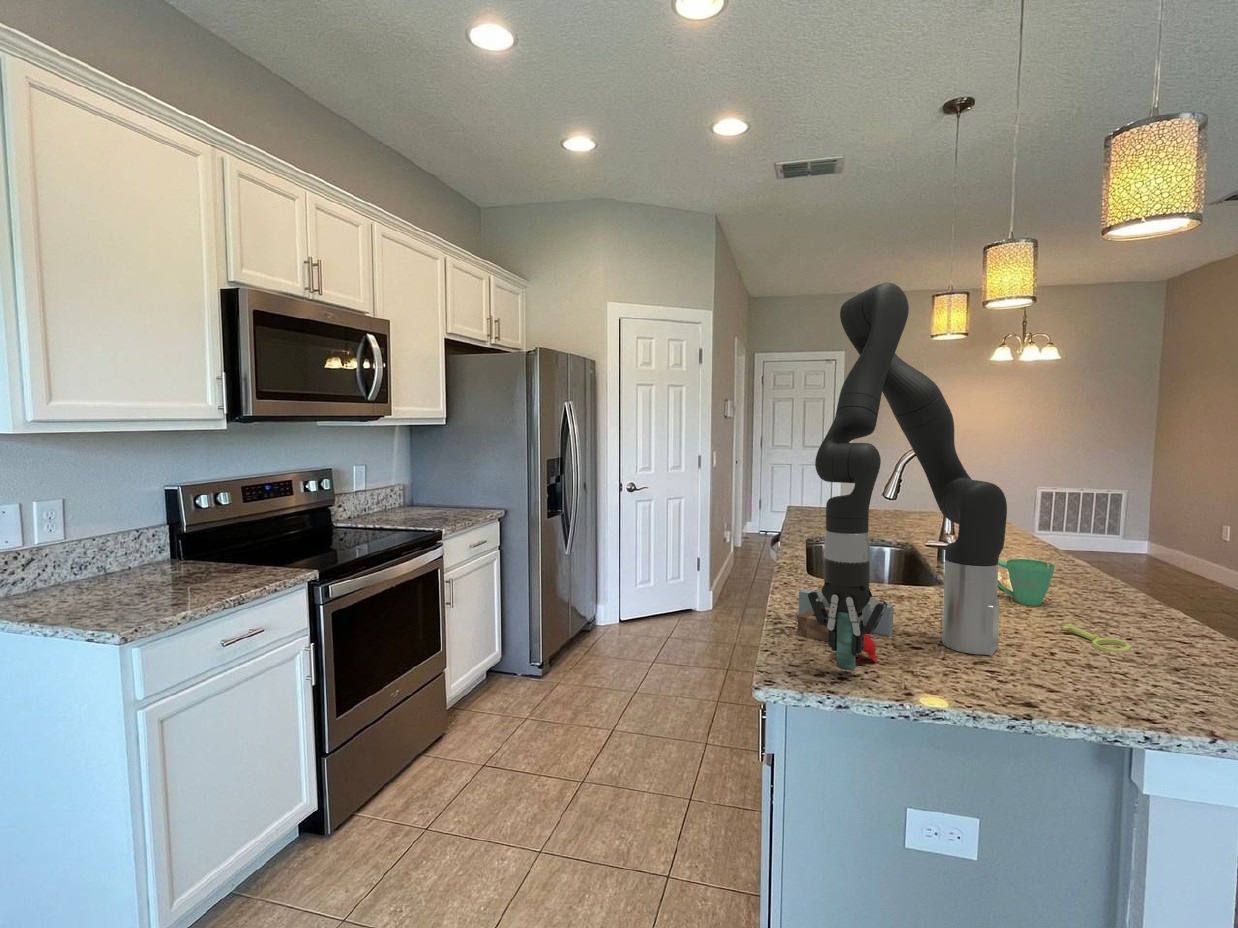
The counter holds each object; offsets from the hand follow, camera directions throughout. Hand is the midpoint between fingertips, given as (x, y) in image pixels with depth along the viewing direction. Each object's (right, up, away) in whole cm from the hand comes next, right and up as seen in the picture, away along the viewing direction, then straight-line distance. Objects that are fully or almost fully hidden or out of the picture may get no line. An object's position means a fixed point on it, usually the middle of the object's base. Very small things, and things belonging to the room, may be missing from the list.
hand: (845, 651), depth 110 cm
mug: (+60, -1, +45) cm, 75 cm away
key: (+56, -3, +16) cm, 59 cm away
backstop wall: (+9, -2, +27) cm, 29 cm away
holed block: (+5, -3, +21) cm, 22 cm away
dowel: (0, -3, 0) cm, 3 cm away
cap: (+4, -4, +7) cm, 9 cm away
